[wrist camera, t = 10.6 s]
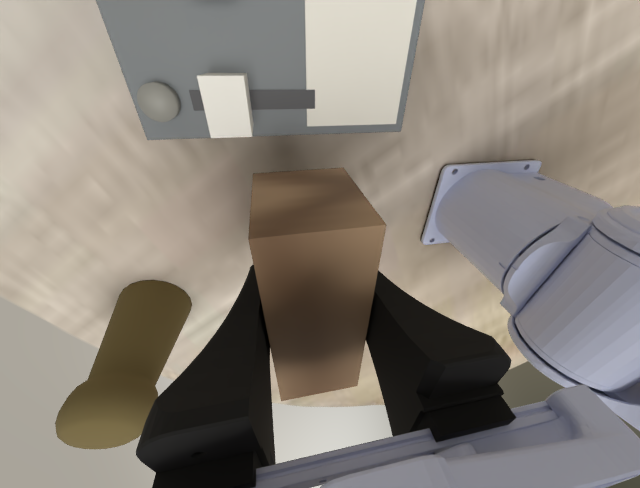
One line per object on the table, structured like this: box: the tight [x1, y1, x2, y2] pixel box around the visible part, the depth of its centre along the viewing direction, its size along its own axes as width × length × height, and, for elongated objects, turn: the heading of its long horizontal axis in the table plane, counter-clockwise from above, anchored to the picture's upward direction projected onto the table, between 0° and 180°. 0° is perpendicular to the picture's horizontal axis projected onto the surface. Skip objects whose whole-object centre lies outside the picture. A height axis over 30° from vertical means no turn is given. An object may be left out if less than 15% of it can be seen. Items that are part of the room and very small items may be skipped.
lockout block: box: [249, 168, 386, 401], centre depth 12 cm, size 4×10×5 cm, turn 0°
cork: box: [55, 280, 192, 449], centre depth 20 cm, size 6×6×11 cm
